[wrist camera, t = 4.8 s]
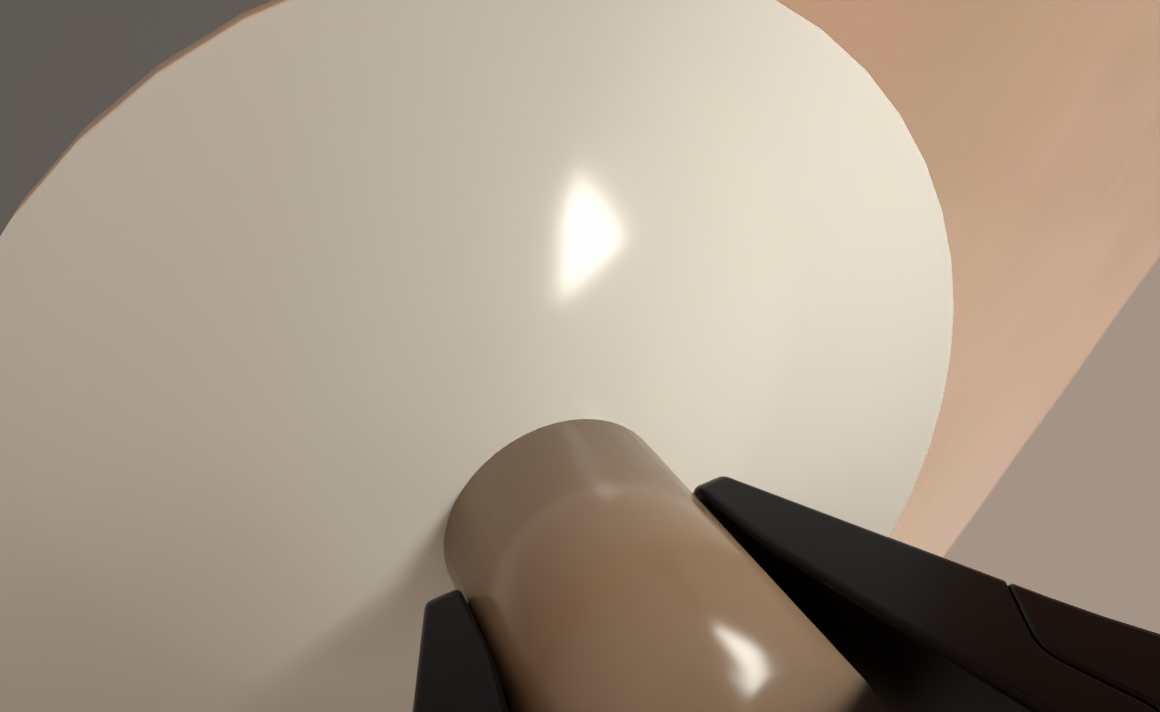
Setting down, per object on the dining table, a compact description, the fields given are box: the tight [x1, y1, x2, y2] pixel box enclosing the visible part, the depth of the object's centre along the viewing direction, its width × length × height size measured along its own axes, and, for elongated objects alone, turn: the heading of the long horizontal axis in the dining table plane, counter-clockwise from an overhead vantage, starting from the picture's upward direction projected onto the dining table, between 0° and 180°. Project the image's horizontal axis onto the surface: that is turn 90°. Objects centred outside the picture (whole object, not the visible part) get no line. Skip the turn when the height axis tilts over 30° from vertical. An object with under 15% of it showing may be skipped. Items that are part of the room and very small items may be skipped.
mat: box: [0, 0, 271, 236], centre depth 19 cm, size 14×14×1 cm
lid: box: [0, 0, 954, 712], centre depth 9 cm, size 13×13×5 cm
